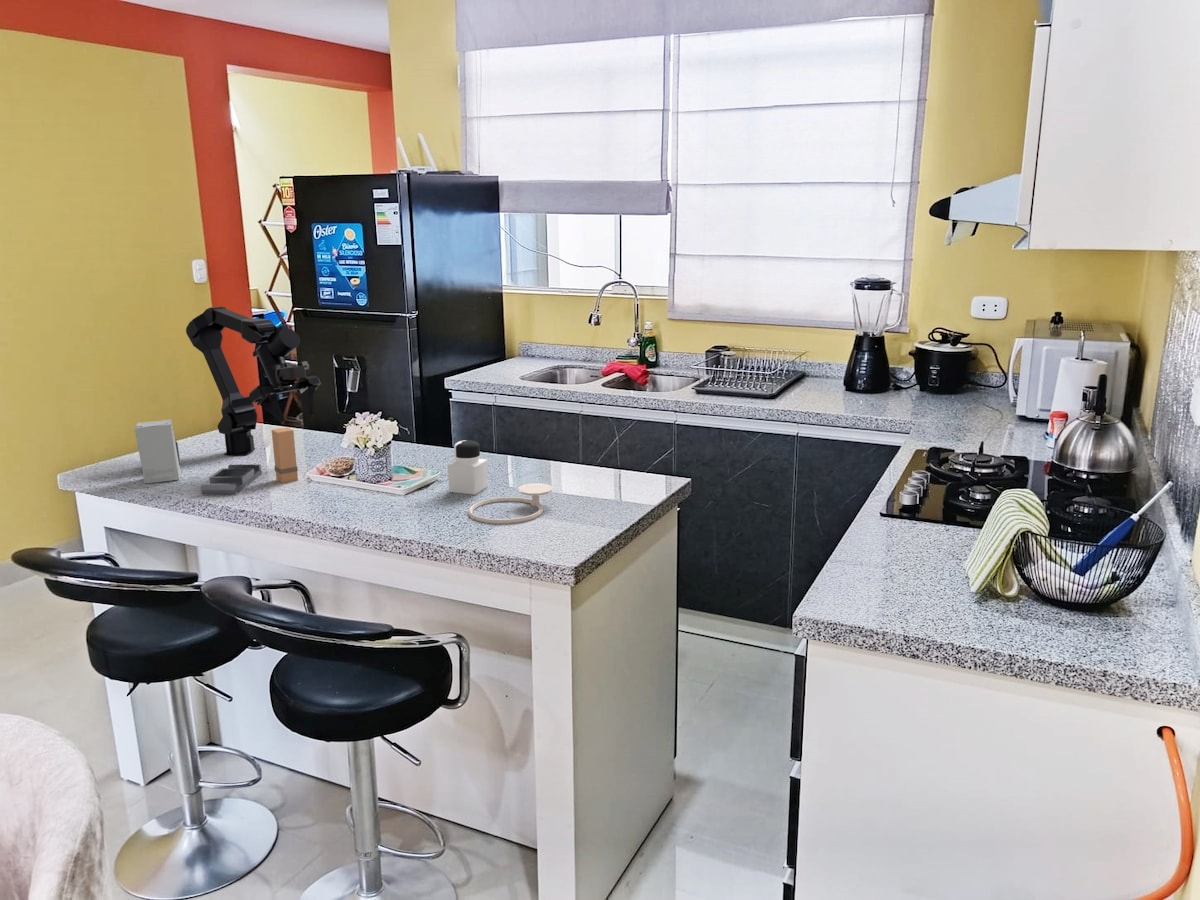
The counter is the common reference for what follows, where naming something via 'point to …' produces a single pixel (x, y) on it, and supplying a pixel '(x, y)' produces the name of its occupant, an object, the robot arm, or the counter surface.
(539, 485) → the hand towel holder
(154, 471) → the skincare box
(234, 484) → the dark grey holder base
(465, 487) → the medicine bottle
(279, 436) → the tan tall block
